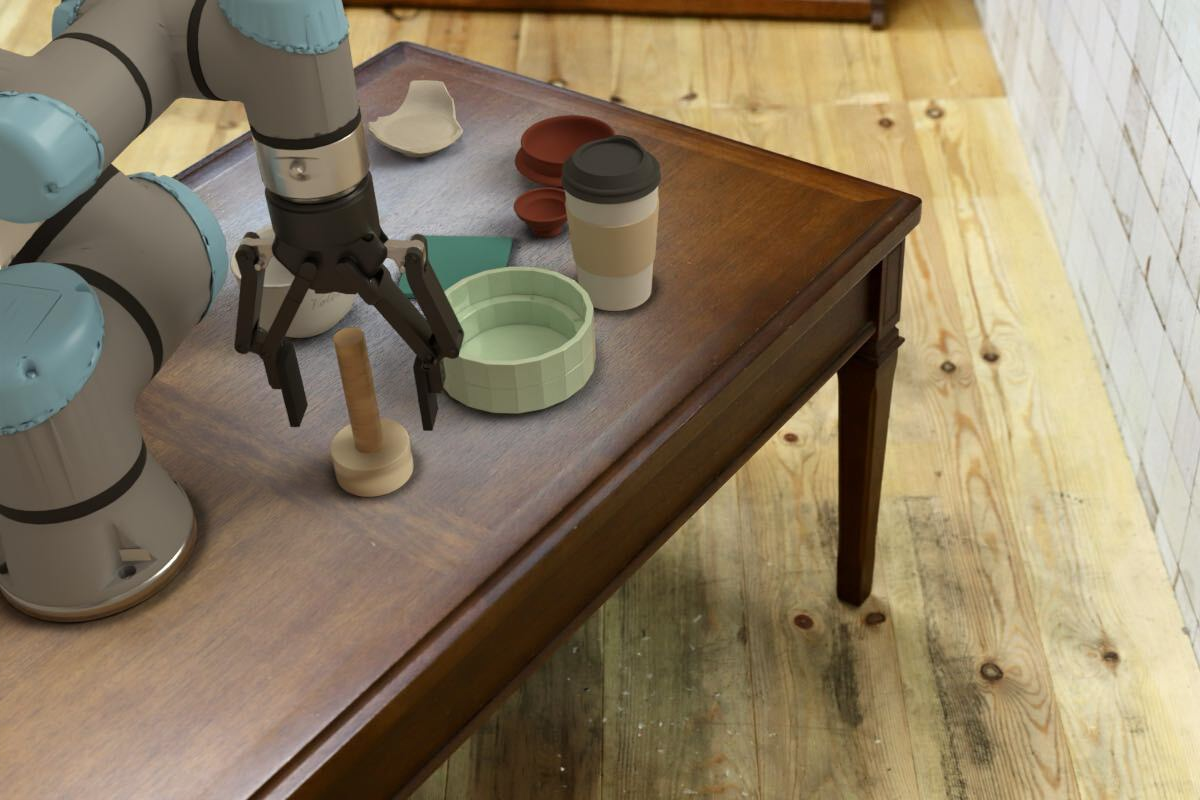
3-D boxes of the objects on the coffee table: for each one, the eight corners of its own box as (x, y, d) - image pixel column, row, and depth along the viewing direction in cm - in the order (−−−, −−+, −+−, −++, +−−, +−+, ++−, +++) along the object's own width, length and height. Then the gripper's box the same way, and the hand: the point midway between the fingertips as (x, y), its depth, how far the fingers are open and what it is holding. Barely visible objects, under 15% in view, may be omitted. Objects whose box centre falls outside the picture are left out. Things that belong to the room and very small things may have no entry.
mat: (396, 298, 133) (395, 293, 132) (415, 240, 140) (415, 235, 140) (499, 300, 132) (498, 295, 131) (513, 241, 139) (512, 236, 139)
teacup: (339, 359, 126) (324, 287, 121) (228, 347, 128) (209, 277, 122) (387, 272, 136) (375, 202, 131) (284, 262, 138) (268, 194, 133)
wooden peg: (328, 495, 112) (297, 361, 103) (345, 443, 117) (317, 310, 108) (405, 498, 111) (381, 363, 102) (420, 445, 116) (398, 312, 107)
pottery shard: (377, 176, 150) (370, 135, 147) (361, 129, 158) (354, 89, 155) (470, 158, 152) (465, 117, 149) (449, 113, 160) (444, 73, 157)
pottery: (633, 150, 152) (632, 114, 149) (596, 251, 137) (594, 214, 134) (530, 143, 154) (528, 107, 151) (483, 242, 139) (479, 205, 137)
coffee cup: (639, 327, 128) (636, 187, 118) (552, 305, 131) (541, 168, 121) (677, 274, 134) (676, 138, 124) (592, 255, 137) (585, 120, 127)
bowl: (424, 416, 119) (415, 362, 115) (451, 317, 130) (444, 265, 126) (587, 421, 118) (584, 366, 114) (601, 320, 129) (599, 267, 125)
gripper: (142, 204, 94) (213, 445, 109) (469, 209, 92) (497, 453, 107) (177, 148, 100) (240, 384, 114) (485, 151, 98) (510, 391, 112)
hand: (364, 417), depth 110 cm, fingers open, 10 cm apart
